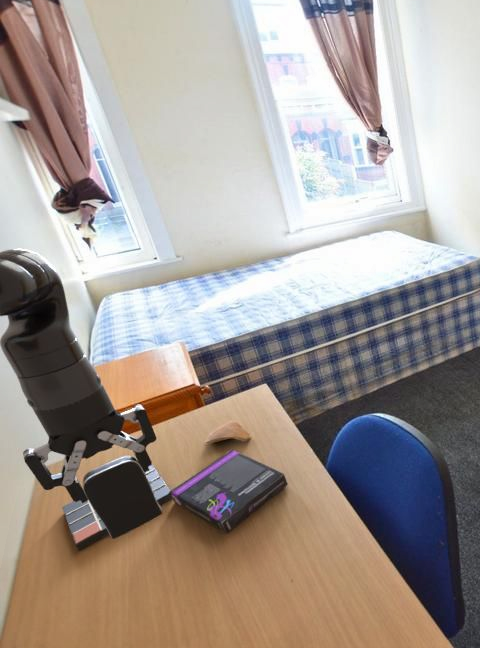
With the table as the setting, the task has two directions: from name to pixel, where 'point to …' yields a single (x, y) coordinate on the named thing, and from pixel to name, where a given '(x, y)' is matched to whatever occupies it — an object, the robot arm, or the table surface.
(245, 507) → the box
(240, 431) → the pottery shard
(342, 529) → the table surface
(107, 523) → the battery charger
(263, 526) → the table surface
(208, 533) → the table surface
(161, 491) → the board
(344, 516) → the table surface
